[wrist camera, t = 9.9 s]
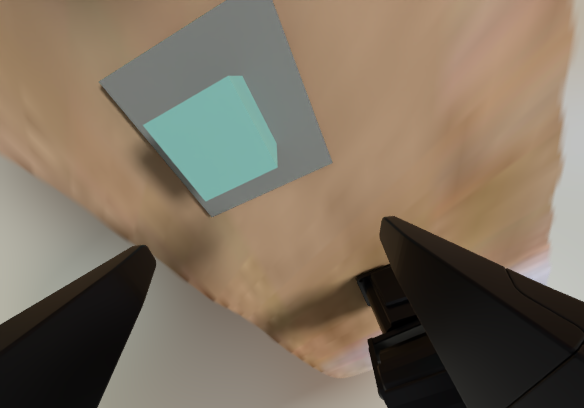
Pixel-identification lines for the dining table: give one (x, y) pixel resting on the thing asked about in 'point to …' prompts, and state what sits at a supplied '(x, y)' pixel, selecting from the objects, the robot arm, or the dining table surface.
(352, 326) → the dining table surface
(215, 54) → the gray mat
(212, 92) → the teal block
